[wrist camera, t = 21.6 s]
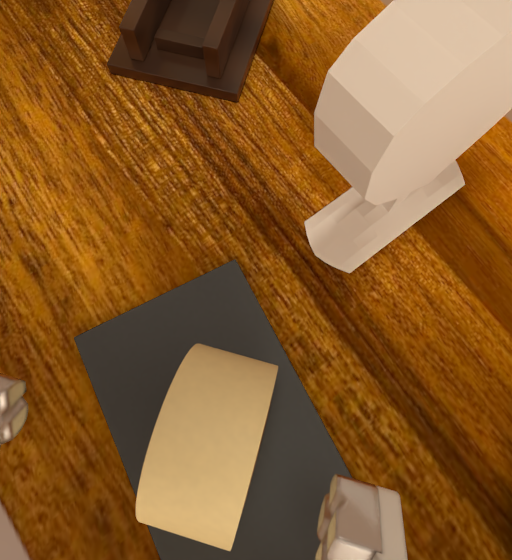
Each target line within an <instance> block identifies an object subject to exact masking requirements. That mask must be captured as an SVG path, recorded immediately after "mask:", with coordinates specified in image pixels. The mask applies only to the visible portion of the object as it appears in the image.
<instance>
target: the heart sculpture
mask: <svg viewBox="0 0 512 560" xmlns="http://www.w3.org/2000/svg"><path fill="white" fill-rule="evenodd" d="M511 109H512V0H394V1H392V2H391V3H390V4H389V5H388V6H387V7H386V8H385V9H384V10H383V11H382V12H381V13H380V14H379V15H378V16H377V17H375V18H374V19H373V20H372V21H371V22H370V23H369V24H368V25H367V26H366V27H365V28H364V29H363V30H362V31H361V32H360V33H359V34H357V35H356V36H355V37H354V38H353V40H352V41H351V42H350V44H349V45H348V46H347V47H346V49H345V50H344V51H343V53H342V54H341V55H340V56H339V58H338V59H337V60H336V62H335V63H334V64H333V65H332V67H331V68H330V69H329V71H328V72H327V75H326V78H325V81H324V84H323V88H322V91H321V94H320V97H319V100H318V103H317V106H316V109H315V112H314V146H315V147H316V148H317V149H318V150H319V151H320V152H321V154H322V155H323V156H324V157H325V158H326V159H327V160H328V161H329V162H330V163H331V164H332V165H333V166H334V167H335V168H336V169H337V171H338V172H339V173H340V174H341V175H342V176H343V177H344V178H345V179H346V180H347V181H348V182H349V183H350V184H351V185H352V186H353V187H352V188H351V189H349V190H348V191H346V192H345V193H344V194H342V195H341V196H340V197H338V198H337V199H335V200H334V201H333V202H331V203H330V204H328V205H327V206H326V207H324V208H323V209H322V210H320V211H319V212H317V213H316V214H315V215H313V216H312V217H311V218H309V219H308V220H306V221H305V222H304V223H305V228H306V233H307V237H308V240H309V243H310V246H311V248H312V250H313V252H314V254H315V256H317V257H318V258H320V259H321V260H322V261H324V262H325V263H327V264H329V265H331V266H333V267H335V268H337V269H340V270H342V271H345V272H347V273H351V272H352V271H353V270H355V269H356V268H357V267H359V266H360V265H361V264H363V263H364V262H365V261H366V260H368V259H369V258H370V257H372V256H373V255H374V254H376V253H377V252H378V251H379V250H381V249H382V248H383V247H385V246H386V245H387V244H389V243H390V242H391V241H392V240H394V239H395V238H396V237H398V236H399V235H400V234H402V233H403V232H404V231H405V230H407V229H408V228H409V227H411V226H412V225H413V224H415V223H416V222H417V221H418V220H420V219H421V218H422V217H424V216H425V215H426V214H428V213H429V212H430V211H431V210H433V209H434V208H435V207H437V206H438V205H439V204H441V203H442V202H443V201H444V200H446V199H447V198H448V197H450V196H451V195H452V194H454V193H455V192H456V191H457V190H459V189H460V188H461V187H463V186H464V185H465V182H464V179H463V176H462V173H461V171H460V168H459V166H458V164H457V162H456V161H455V160H456V159H457V158H458V157H459V156H460V155H461V154H462V153H463V152H465V151H466V150H467V149H468V148H469V147H470V146H471V145H472V144H474V143H475V142H476V141H477V140H478V139H479V138H480V137H481V136H482V135H484V134H485V133H486V132H487V131H488V130H489V129H490V128H491V127H492V126H493V125H495V124H496V123H497V122H498V121H499V120H500V119H501V118H502V117H503V116H504V115H505V114H506V113H507V112H509V111H510V110H511Z"/></svg>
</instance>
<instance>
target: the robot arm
mask: <svg viewBox="0 0 512 560" xmlns="http://www.w3.org/2000/svg"><path fill="white" fill-rule="evenodd" d="M25 392H26V384H25V381H23V380H21V379H18V378H15V377H12V376H9V375H6V374H3V373H0V446H1V444H3V443H6V442H8V441H10V440H13V439H14V437H15V436H16V435H17V434H18V433H19V432H20V430H21V429H22V427H23V425H24V423H25V421H26V419H27V414H28V403H27V402H26V401H25V399H24V398H23V397H22V395H23V394H24V393H25ZM317 536H318V538H319V540H320V542H321V543H320V545H319V547H318V549H317V552H316V554H315V560H408V559H407V551H406V543H405V534H404V526H403V518H402V509H401V501H400V496H399V494H398V492H396V491H392V490H389V489H386V488H382V487H379V486H375V485H374V484H370V483H367V482H363V481H360V480H356V479H353V478H349V477H346V476H342V475H339V474H335V475H334V476H333V478H332V480H331V483H330V493H328V494H326V495H325V497H324V499H323V502H322V505H321V509H320V513H319V519H318V527H317Z"/></svg>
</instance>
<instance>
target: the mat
mask: <svg viewBox="0 0 512 560" xmlns="http://www.w3.org/2000/svg"><path fill="white" fill-rule="evenodd" d="M74 340H75V342H76V345H77V347H78V350H79V352H80V355H81V357H82V360H83V363H84V365H85V368H86V370H87V373H88V375H89V378H90V380H91V383H92V385H93V388H94V391H95V393H96V396H97V398H98V401H99V403H100V406H101V408H102V411H103V414H104V416H105V419H106V421H107V424H108V426H109V429H110V431H111V434H112V436H113V439H114V442H115V444H116V447H117V449H118V452H119V454H120V457H121V459H122V462H123V465H124V467H125V470H126V472H127V475H128V477H129V480H130V482H131V485H132V488H133V490H134V493H135V495H136V498H137V491H138V486H139V481H140V476H141V472H142V468H143V464H144V460H145V456H146V453H147V449H148V446H149V442H150V439H151V436H152V433H153V430H154V427H155V424H156V421H157V418H158V415H159V413H160V410H161V407H162V405H163V402H164V400H165V397H166V395H167V392H168V390H169V388H170V385H171V383H172V381H173V379H174V376H175V374H176V372H177V370H178V368H179V366H180V365H181V363H182V361H183V359H184V358H185V356H186V354H187V353H188V352H189V350H190V349H191V348H192V347H193V346H194V345H195V344H203V345H206V346H210V347H213V348H217V349H221V350H224V351H228V352H231V353H235V354H238V355H242V356H245V357H249V358H252V359H256V360H259V361H263V362H267V363H270V364H274V365H277V366H278V372H277V376H276V381H275V385H274V389H273V394H272V399H271V405H270V410H269V414H268V418H267V423H266V427H265V431H264V435H263V439H262V443H261V447H260V451H259V455H258V458H257V462H256V466H255V470H254V474H253V477H252V481H251V485H250V488H249V492H248V496H247V499H246V503H245V506H244V508H243V511H242V514H241V518H240V521H239V524H238V528H237V532H236V535H235V539H234V542H233V545H232V548H231V551H227V550H224V549H221V548H218V547H215V546H212V545H209V544H205V543H202V542H199V541H196V540H193V539H190V538H187V537H184V536H181V535H178V534H175V533H171V532H168V531H165V530H162V529H159V528H156V527H153V526H150V525H147V526H148V528H149V531H150V533H151V536H152V539H153V541H154V544H155V546H156V549H157V551H158V554H159V556H160V559H161V560H315V554H316V552H317V549H318V547H319V545H320V543H321V542H320V540H319V538H318V536H317V527H318V519H319V513H320V509H321V505H322V502H323V499H324V497H325V495H326V494H328V493H330V483H331V480H332V478H333V476H334V475H335V474H339V475H342V476H346V477H349V478H352V476H351V475H350V473H349V471H348V469H347V467H346V465H345V463H344V462H343V460H342V458H341V456H340V454H339V452H338V450H337V448H336V447H335V445H334V443H333V441H332V439H331V437H330V435H329V433H328V432H327V430H326V428H325V426H324V424H323V422H322V420H321V419H320V417H319V415H318V413H317V411H316V409H315V407H314V405H313V404H312V402H311V400H310V398H309V396H308V394H307V392H306V390H305V389H304V387H303V385H302V383H301V381H300V379H299V377H298V376H297V374H296V372H295V370H294V368H293V366H292V364H291V362H290V361H289V359H288V357H287V355H286V353H285V351H284V349H283V348H282V346H281V344H280V342H279V340H278V338H277V336H276V334H275V333H274V331H273V329H272V327H271V325H270V323H269V321H268V319H267V318H266V316H265V314H264V312H263V310H262V308H261V306H260V305H259V303H258V301H257V299H256V297H255V295H254V293H253V291H252V290H251V288H250V286H249V284H248V282H247V280H246V278H245V276H244V275H243V273H242V271H241V269H240V267H239V265H238V263H237V262H236V260H233V261H231V262H229V263H226V264H224V265H222V266H220V267H218V268H216V269H214V270H212V271H210V272H208V273H206V274H204V275H202V276H200V277H198V278H196V279H193V280H191V281H189V282H187V283H185V284H183V285H181V286H179V287H177V288H175V289H173V290H171V291H169V292H167V293H165V294H162V295H160V296H158V297H156V298H154V299H152V300H150V301H148V302H146V303H144V304H142V305H140V306H138V307H136V308H134V309H132V310H129V311H127V312H125V313H123V314H121V315H119V316H117V317H115V318H113V319H111V320H109V321H107V322H105V323H103V324H101V325H99V326H96V327H94V328H92V329H90V330H88V331H86V332H84V333H82V334H80V335H78V336H76V337H74Z"/></svg>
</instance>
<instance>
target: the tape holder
mask: <svg viewBox="0 0 512 560" xmlns="http://www.w3.org/2000/svg"><path fill="white" fill-rule="evenodd" d="M272 3H273V0H132V1H131V3H130V5H129V7H128V9H127V11H126V14H125V16H124V18H123V20H122V22H121V24H120V26H119V28H120V31H121V36H120V38H119V40H118V42H117V44H116V46H115V48H114V50H113V52H112V54H111V57H110V59H109V61H108V63H107V65H108V68H109V70H110V72H111V73H113V74H117V75H121V76H126V77H130V78H134V79H139V80H143V81H147V82H152V83H156V84H160V85H165V86H169V87H173V88H178V89H182V90H186V91H191V92H195V93H200V94H204V95H208V96H213V97H217V98H221V99H226V100H230V101H234V102H238V100H239V97H240V94H241V91H242V88H243V86H244V83H245V80H246V77H247V74H248V71H249V69H250V66H251V63H252V60H253V57H254V54H255V52H256V49H257V46H258V43H259V40H260V37H261V34H262V32H263V29H264V26H265V23H266V20H267V17H268V15H269V12H270V9H271V6H272Z"/></svg>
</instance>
